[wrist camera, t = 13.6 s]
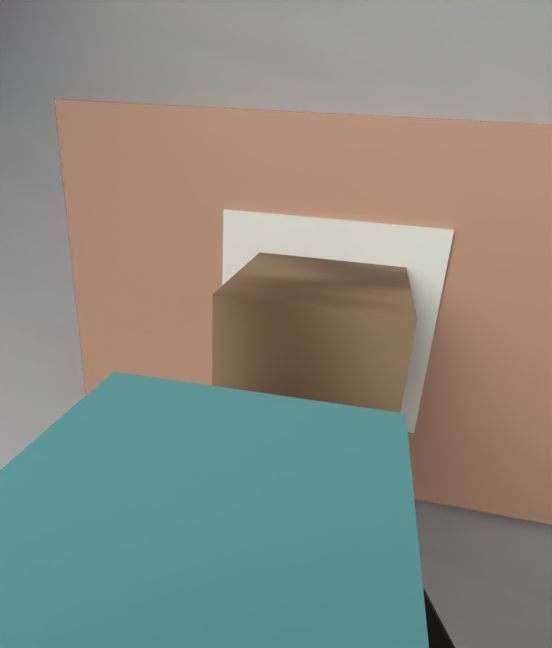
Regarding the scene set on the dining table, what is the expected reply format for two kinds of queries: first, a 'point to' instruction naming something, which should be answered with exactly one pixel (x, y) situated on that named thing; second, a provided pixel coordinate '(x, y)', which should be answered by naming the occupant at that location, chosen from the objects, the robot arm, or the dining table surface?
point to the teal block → (211, 524)
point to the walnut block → (315, 330)
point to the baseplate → (335, 244)
